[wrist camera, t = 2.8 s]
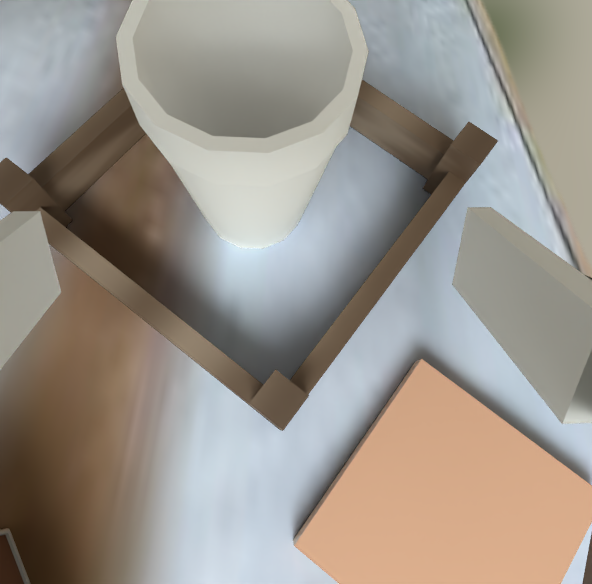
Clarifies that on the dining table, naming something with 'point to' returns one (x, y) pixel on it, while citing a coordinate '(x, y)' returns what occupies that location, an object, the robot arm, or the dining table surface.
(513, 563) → the terracotta tile
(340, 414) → the dining table surface
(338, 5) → the foam cup
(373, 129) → the frame
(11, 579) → the cake slice
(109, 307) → the dining table surface
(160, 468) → the dining table surface
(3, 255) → the robot arm
